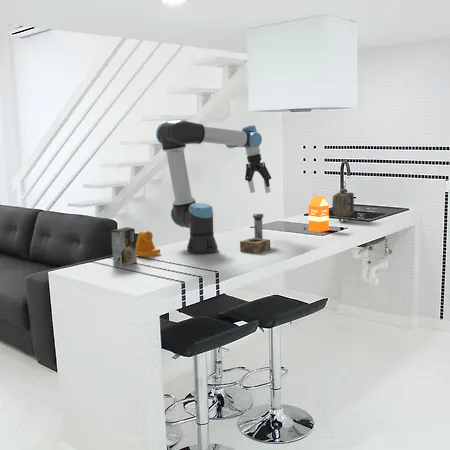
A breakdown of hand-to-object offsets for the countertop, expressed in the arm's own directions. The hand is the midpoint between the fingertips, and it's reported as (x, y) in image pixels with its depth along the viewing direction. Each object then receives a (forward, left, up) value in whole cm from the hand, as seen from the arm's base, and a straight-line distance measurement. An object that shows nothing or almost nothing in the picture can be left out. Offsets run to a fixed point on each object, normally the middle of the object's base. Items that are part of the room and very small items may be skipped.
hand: (260, 192), depth 320 cm
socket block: (+2, -38, -24) cm, 45 cm away
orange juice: (+31, +19, -25) cm, 44 cm away
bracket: (-49, -51, -25) cm, 75 cm away
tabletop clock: (+45, +52, -25) cm, 73 cm away
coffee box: (-54, -69, -25) cm, 91 cm away
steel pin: (+2, -25, -24) cm, 35 cm away
